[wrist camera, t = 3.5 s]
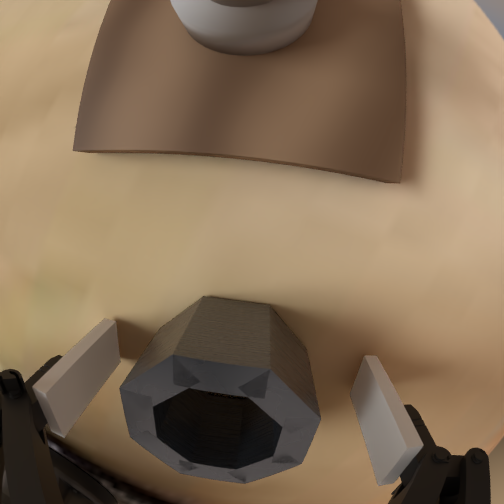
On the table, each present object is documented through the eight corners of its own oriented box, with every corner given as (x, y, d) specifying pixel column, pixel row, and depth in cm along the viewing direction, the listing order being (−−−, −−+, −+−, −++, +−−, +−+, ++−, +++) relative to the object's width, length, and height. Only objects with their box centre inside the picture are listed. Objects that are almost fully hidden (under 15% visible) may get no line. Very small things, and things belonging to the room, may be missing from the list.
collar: (163, 401, 15) (137, 462, 10) (159, 289, 13) (112, 340, 8) (286, 419, 15) (290, 486, 10) (314, 309, 13) (337, 373, 8)
